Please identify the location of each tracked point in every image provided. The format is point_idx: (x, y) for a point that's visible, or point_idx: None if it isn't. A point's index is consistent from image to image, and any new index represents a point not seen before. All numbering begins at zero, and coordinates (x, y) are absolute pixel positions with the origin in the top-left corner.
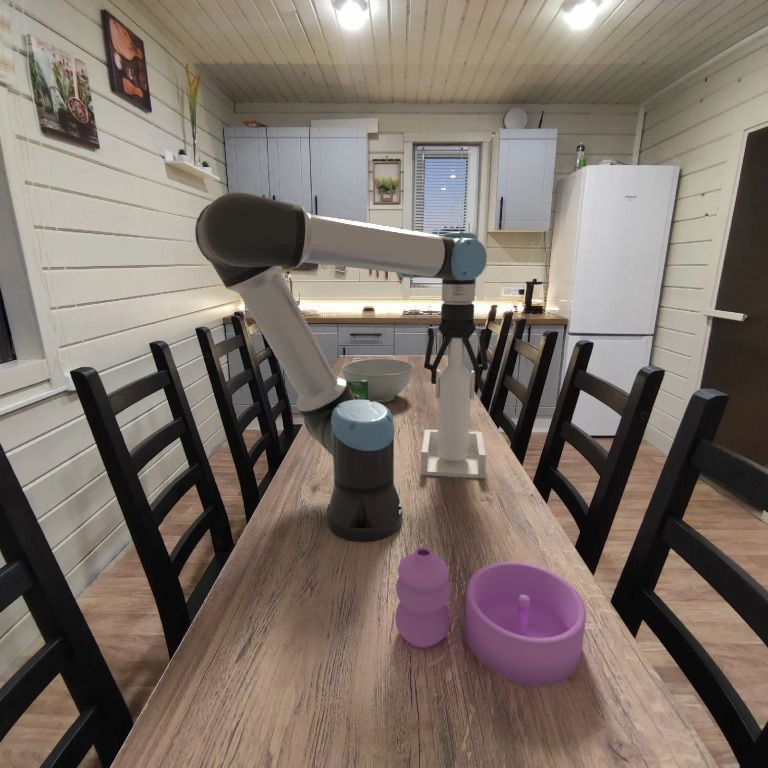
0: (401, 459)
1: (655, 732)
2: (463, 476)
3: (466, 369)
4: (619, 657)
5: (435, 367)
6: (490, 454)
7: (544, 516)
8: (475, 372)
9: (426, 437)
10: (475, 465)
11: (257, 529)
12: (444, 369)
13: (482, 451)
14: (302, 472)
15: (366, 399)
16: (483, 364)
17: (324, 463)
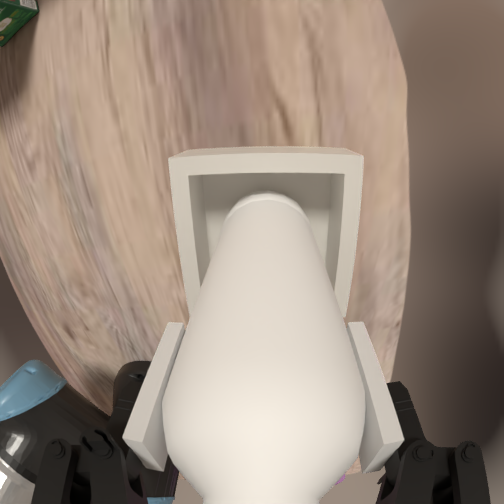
0: (143, 216)
1: (350, 470)
2: None
3: (340, 477)
4: (358, 456)
5: (134, 487)
6: (368, 155)
7: (389, 367)
8: (388, 463)
9: (184, 226)
10: (322, 249)
11: (79, 392)
12: (186, 479)
13: (342, 298)
14: (30, 289)
15: (2, 5)
16: (432, 499)
17: (35, 257)
